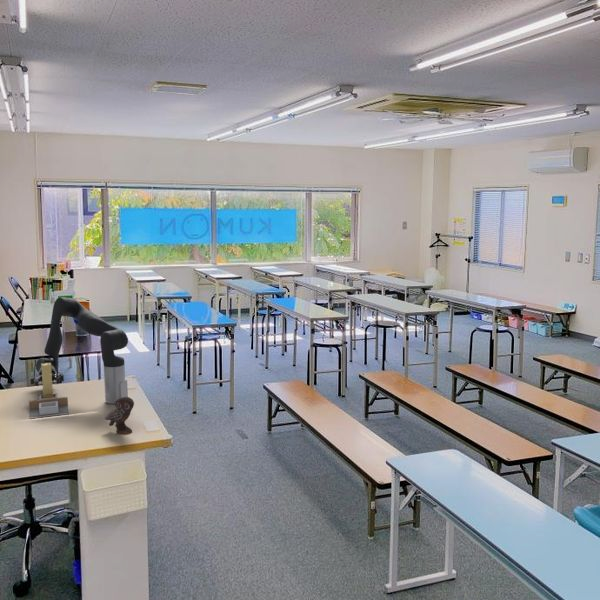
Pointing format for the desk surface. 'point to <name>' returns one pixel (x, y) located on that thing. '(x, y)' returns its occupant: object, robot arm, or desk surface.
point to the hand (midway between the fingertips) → (47, 382)
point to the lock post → (47, 380)
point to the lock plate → (48, 406)
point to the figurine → (121, 415)
